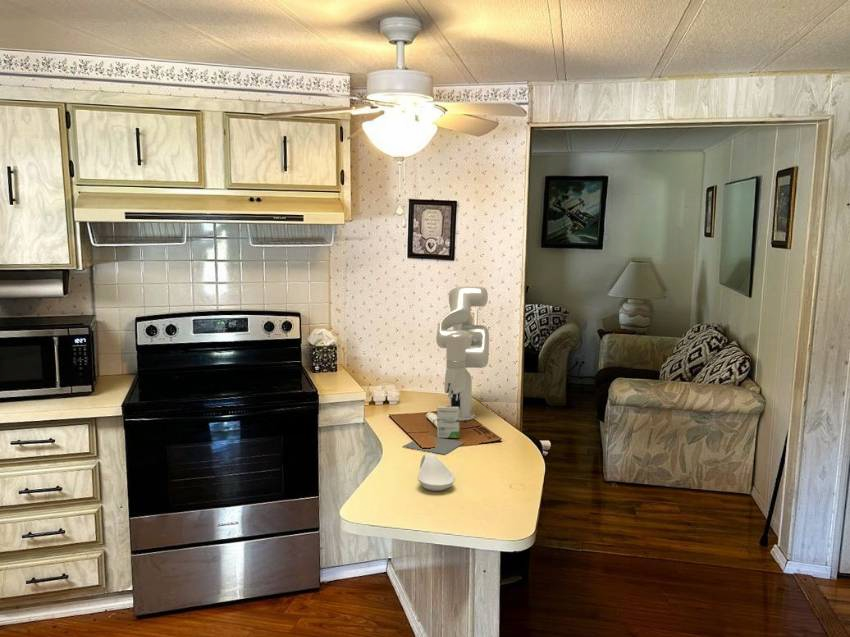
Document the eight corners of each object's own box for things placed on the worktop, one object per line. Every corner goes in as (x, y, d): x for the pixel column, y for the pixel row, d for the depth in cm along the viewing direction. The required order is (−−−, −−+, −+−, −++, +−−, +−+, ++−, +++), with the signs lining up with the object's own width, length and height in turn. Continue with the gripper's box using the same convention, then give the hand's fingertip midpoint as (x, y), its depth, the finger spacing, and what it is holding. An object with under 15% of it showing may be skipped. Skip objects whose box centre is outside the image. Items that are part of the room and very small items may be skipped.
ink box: (459, 435, 272) (459, 405, 271) (459, 438, 267) (459, 408, 267) (437, 435, 273) (437, 405, 272) (436, 437, 268) (437, 407, 267)
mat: (423, 436, 271) (423, 435, 271) (464, 443, 263) (464, 442, 262) (402, 447, 258) (402, 446, 258) (444, 455, 249) (444, 454, 249)
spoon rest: (458, 494, 213) (458, 471, 213) (421, 496, 211) (421, 474, 210) (442, 467, 237) (442, 447, 236) (408, 470, 234) (408, 449, 233)
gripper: (456, 360, 280) (455, 404, 282) (438, 366, 267) (438, 412, 269) (472, 362, 276) (472, 406, 278) (455, 368, 263) (455, 415, 265)
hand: (455, 409), depth 274 cm, fingers closed
